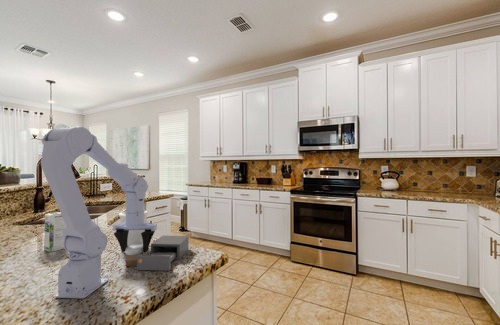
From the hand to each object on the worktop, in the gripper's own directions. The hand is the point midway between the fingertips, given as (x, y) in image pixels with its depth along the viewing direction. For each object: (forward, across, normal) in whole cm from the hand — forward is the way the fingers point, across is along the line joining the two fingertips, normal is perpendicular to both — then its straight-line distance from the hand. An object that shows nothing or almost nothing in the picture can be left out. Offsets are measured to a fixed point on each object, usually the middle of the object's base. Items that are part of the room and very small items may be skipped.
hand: (135, 251), depth 80 cm
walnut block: (+4, 0, 0) cm, 4 cm away
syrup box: (+4, +40, -12) cm, 42 cm away
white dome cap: (0, 0, 0) cm, 0 cm away
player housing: (+4, -9, -9) cm, 13 cm away
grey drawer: (+4, -9, 0) cm, 10 cm away
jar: (+4, +8, -13) cm, 16 cm away
